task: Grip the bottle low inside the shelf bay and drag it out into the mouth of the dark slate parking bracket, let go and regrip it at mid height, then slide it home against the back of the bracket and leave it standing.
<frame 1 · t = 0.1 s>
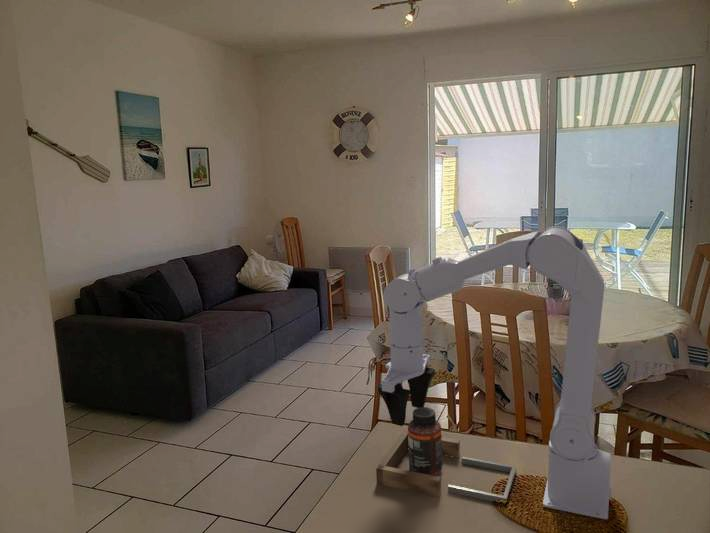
hand: (408, 415, 99), 10 cm above the counter, tool pointing down, fingers open, 7 cm apart
supplement bottle: (425, 471, 100), on the counter
shelf bay: (422, 469, 100), on the counter
slate bracket: (481, 481, 96), on the counter
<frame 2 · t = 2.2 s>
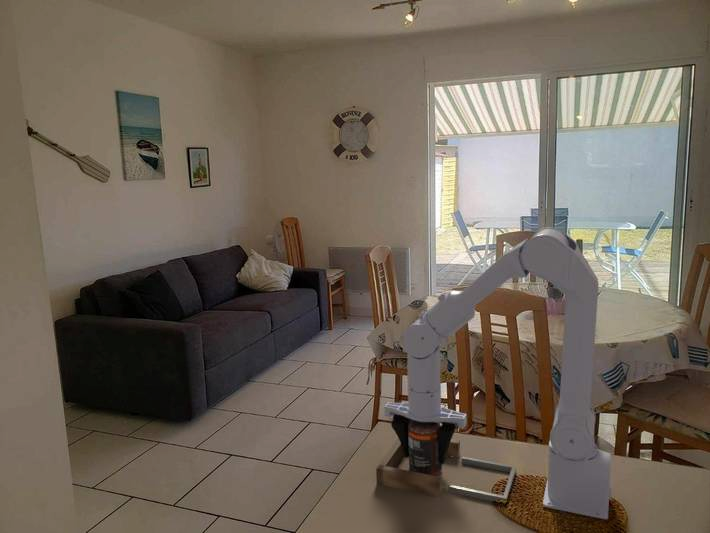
hand: (425, 457, 100), 2 cm above the counter, tool pointing down, fingers closed on supplement bottle, 6 cm apart
supplement bottle: (425, 471, 100), on the counter, touching gripper
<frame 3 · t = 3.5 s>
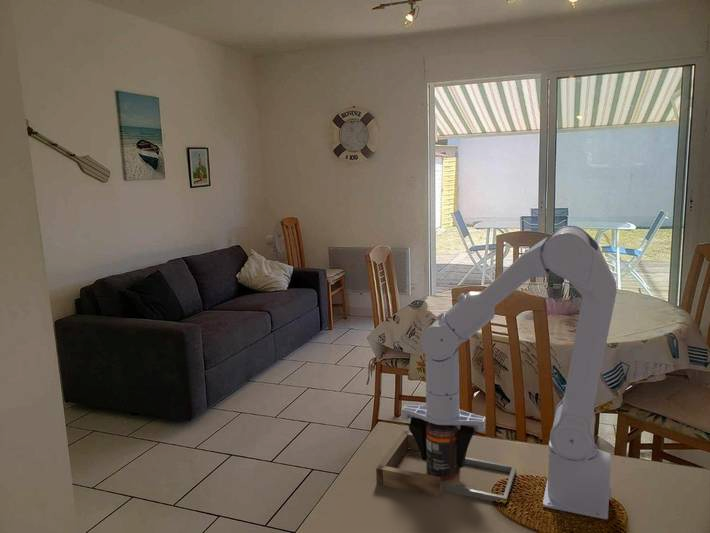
hand: (443, 461, 98), 2 cm above the counter, tool pointing down, fingers closed on supplement bottle, 6 cm apart
supplement bottle: (443, 474, 99), on the counter, touching gripper
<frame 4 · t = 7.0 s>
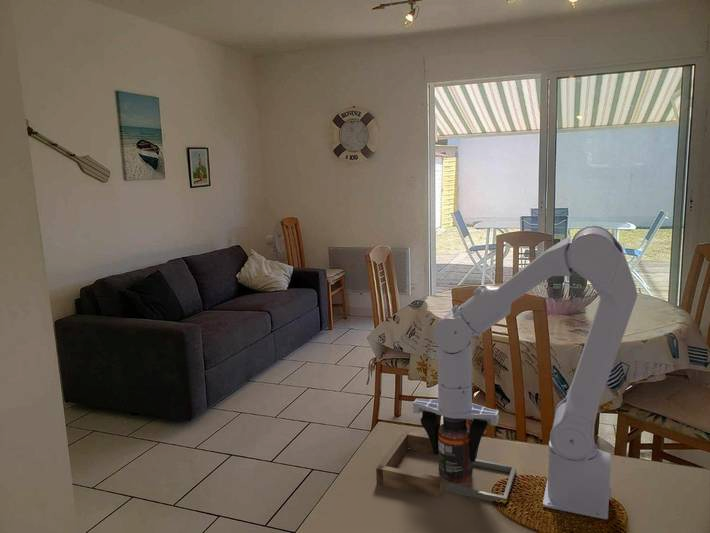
hand: (455, 455, 97), 4 cm above the counter, tool pointing down, fingers closed on supplement bottle, 6 cm apart
supplement bottle: (455, 476, 98), on the counter, touching gripper
when the fingers open (4 cm above the counter, at t = 8.1 s): supplement bottle moves 3 cm, on the counter.
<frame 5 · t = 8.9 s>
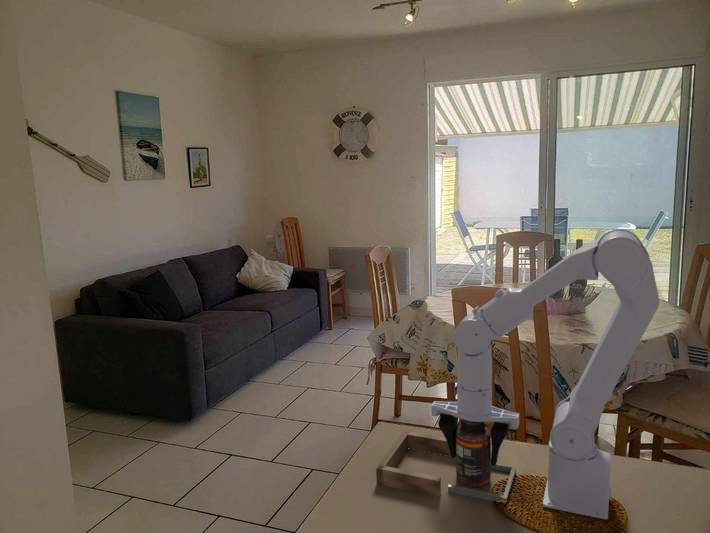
hand: (474, 458, 96), 4 cm above the counter, tool pointing down, fingers open, 6 cm apart
supplement bottle: (473, 479, 97), on the counter, touching gripper
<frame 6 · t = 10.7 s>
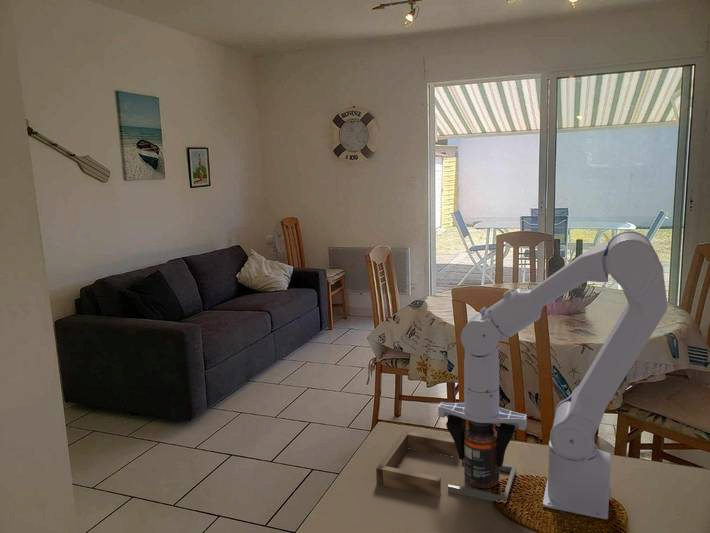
hand: (481, 460, 95), 4 cm above the counter, tool pointing down, fingers closed on supplement bottle, 6 cm apart
supplement bottle: (481, 481, 96), on the counter, touching gripper
when the fingers open (4 cm above the counter, at t = 10.8 s): supplement bottle stays where it is, on the counter.
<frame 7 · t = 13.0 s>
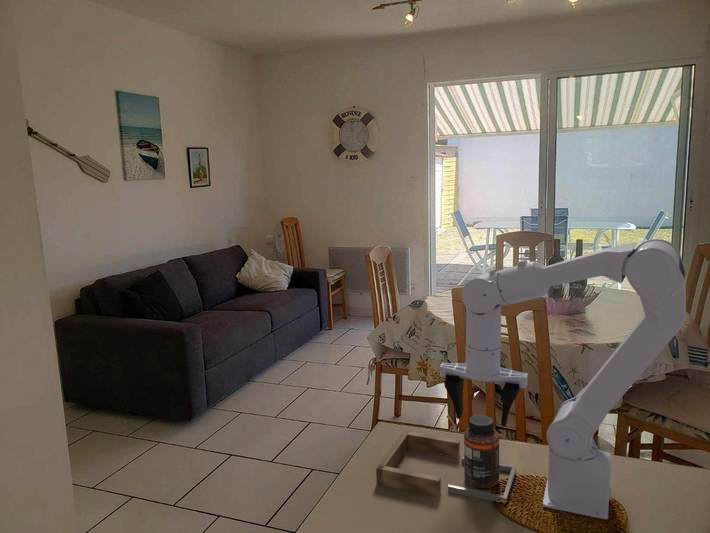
hand: (481, 419, 96), 10 cm above the counter, tool pointing down, fingers open, 7 cm apart
supplement bottle: (481, 481, 96), on the counter
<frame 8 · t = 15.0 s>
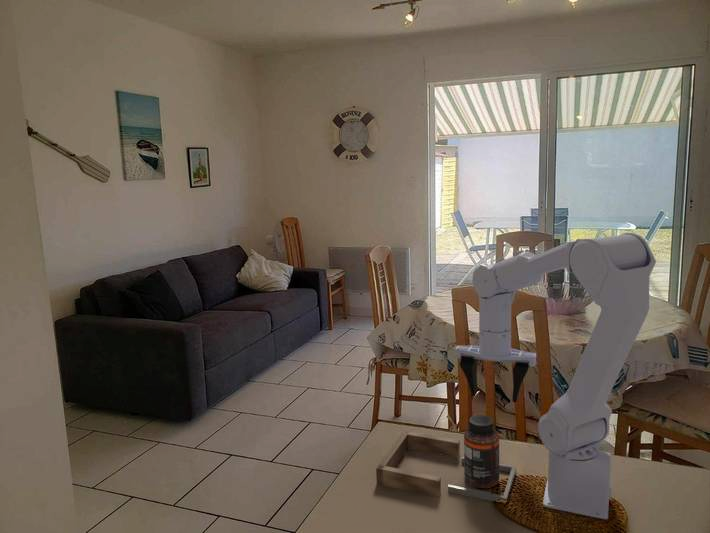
hand: (494, 397, 105), 10 cm above the counter, tool pointing down, fingers open, 7 cm apart
nothing on the counter moved.
at the end: supplement bottle 0.3 cm off-centre on the slate bracket, point 0.0 cm above the slate bracket's base; supplement bottle tilted 0°; the gripper is holding nothing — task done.
